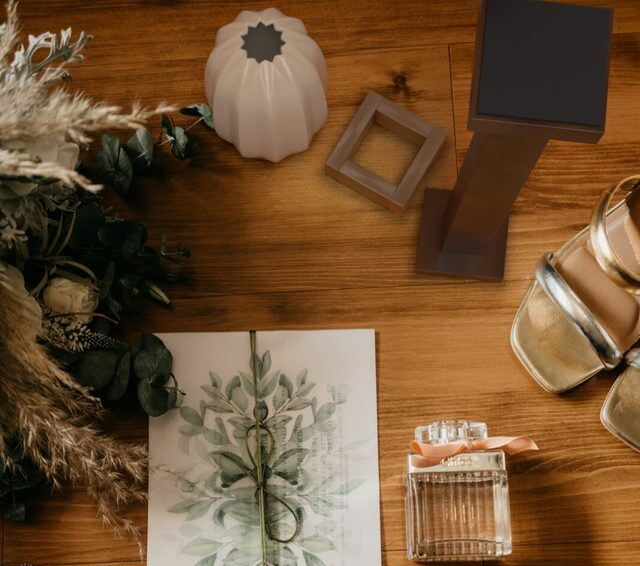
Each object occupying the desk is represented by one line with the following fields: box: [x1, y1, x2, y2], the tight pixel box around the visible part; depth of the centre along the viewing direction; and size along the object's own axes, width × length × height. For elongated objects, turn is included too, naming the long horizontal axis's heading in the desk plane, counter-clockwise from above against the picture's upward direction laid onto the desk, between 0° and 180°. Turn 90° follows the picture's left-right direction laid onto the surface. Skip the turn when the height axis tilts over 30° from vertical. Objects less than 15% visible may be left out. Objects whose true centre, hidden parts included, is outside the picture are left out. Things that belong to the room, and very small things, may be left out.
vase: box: [203, 6, 329, 163], centre depth 79 cm, size 14×14×13 cm
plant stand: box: [415, 0, 615, 284], centre depth 69 cm, size 10×10×31 cm
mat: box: [477, 0, 611, 127], centre depth 54 cm, size 9×9×1 cm
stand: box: [324, 89, 449, 218], centre depth 84 cm, size 10×10×2 cm
